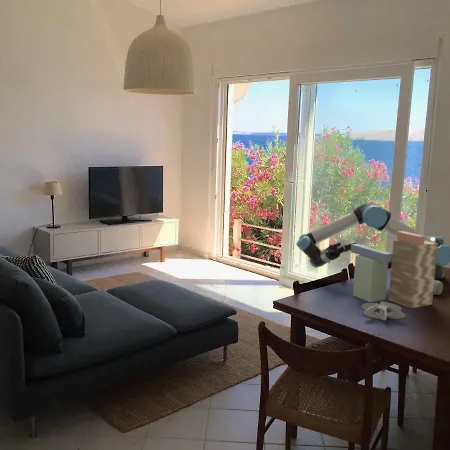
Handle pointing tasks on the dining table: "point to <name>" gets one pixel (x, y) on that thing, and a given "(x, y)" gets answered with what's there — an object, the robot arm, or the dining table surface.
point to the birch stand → (413, 273)
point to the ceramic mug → (437, 287)
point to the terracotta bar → (410, 238)
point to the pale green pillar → (370, 279)
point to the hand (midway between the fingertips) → (355, 240)
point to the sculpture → (383, 306)
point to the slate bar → (371, 253)
